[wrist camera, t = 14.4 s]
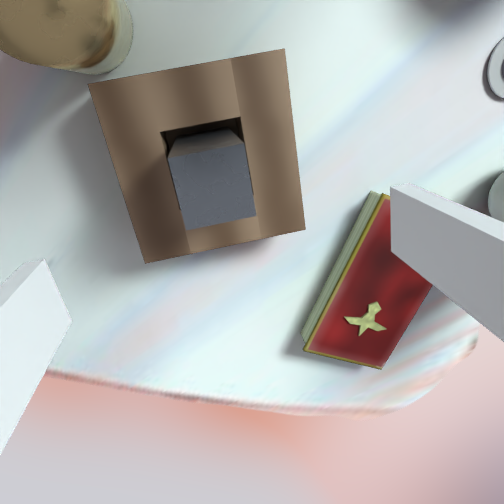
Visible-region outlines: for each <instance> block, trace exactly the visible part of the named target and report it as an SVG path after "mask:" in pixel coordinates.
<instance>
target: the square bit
mask: <svg viewBox="0 0 504 504" xmlns="http://www.w3.org/2000/svg"><path fill="white" fill-rule="evenodd" d="M168 162H169V166H170V170H171V174H172V178H173V182H174V185H175V189H176V193H177V197H178V201H179V205H180V209H181V212H182V216H183V220H184V224H185V228H186V231H187V230H191V229H196V228H201V227H206V226H211V225H215V224H220V223H225V222H230V221H235V220H239V219H244V218H249V217H254V216H257V215H256V209H255V204H254V198H253V192H252V186H251V180H250V174H249V169H248V163H247V157H246V151H245V145H244V143H243V142H242V141H241V140H240V139H239V138H238V137H237V136H236V135H235V134H234V133H233V132H232V131H231V130H230V129H229V128H228V127H227V126H225V127H220V128H215V129H209V130H204V131H199V132H194V133H188V134H183V135H178V136H177V137H176V139H175V142H174V144H173V146H172V149H171V151H170V153H169V156H168Z"/></svg>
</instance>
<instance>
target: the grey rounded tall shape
mask: <svg viewBox="0 0 504 504" xmlns="http://www.w3.org/2000/svg"><path fill="white" fill-rule="evenodd" d="M488 208H489V212H490V215H491V217H492V218H494V219H497V220H499V221H501V222H504V172H503V173H502V174H500V175H499V177H498V178H497V179H496V180H495V182H494V184H493V185H492V187H491V189H490V191H489V196H488Z"/></svg>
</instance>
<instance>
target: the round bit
mask: <svg viewBox="0 0 504 504" xmlns="http://www.w3.org/2000/svg"><path fill="white" fill-rule="evenodd" d="M132 39H133V24H132V18H131V15H130V11H129V9H128V6H127V4H126V2H125V0H0V50H2V51H3V52H5V53H7V54H8V55H10V56H12V57H14V58H16V59H19V60H21V61H24V62H27V63H30V64H36V65H41V66H47V67H52V68H58V69H63V70H69V71H74V72H79V73H85V74H102V73H106V72H109V71H111V70H113V69H114V68H116V67H117V66H119V65H120V64H121V63H122V62H123V60H124V59H125V58H126V56H127V55H128V52H129V50H130V47H131V44H132Z"/></svg>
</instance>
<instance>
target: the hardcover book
mask: <svg viewBox="0 0 504 504" xmlns="http://www.w3.org/2000/svg"><path fill="white" fill-rule="evenodd" d="M431 287H432V284H431V283H430V282H429V281H427V280H426V279H425V278H424V277H422V276H421V275H420V274H419V273H417V272H416V271H415V270H414V269H412V268H411V267H410V266H409V265H408V264H406V263H405V262H404V261H403V260H401V259H400V258H399V257H398V256H396V255H395V254H394V253H393V252H391V208H390V196H388V195H386V194H383V193H382V194H378V193H376V192H373V191H370V194H369V196H368V198H367V200H366V202H365V204H364V206H363V208H362V210H361V212H360V214H359V216H358V218H357V220H356V222H355V224H354V226H353V228H352V230H351V232H350V234H349V236H348V238H347V240H346V242H345V244H344V246H343V248H342V250H341V252H340V254H339V256H338V258H337V260H336V262H335V264H334V266H333V268H332V270H331V272H330V274H329V276H328V278H327V280H326V282H325V284H324V286H323V288H322V290H321V292H320V294H319V296H318V299H317V301H316V303H315V305H314V307H313V309H312V311H311V313H310V315H309V317H308V319H307V321H306V323H305V325H304V327H303V329H302V331H301V335H302V337H303V340H304V342H305V346H304V348H303V351H305V352H309V353H314V354H318V355H322V356H326V357H330V358H334V359H339V360H343V361H347V362H351V363H355V364H360V365H364V366H368V367H372V368H376V369H380V370H382V368H383V366H384V365H385V363H386V361H387V360H388V358H389V356H390V355H391V353H392V351H393V350H394V348H395V346H396V345H397V343H398V341H399V340H400V338H401V336H402V335H403V333H404V332H405V330H406V328H407V327H408V325H409V323H410V322H411V320H412V318H413V317H414V315H415V313H416V312H417V310H418V308H419V307H420V305H421V303H422V302H423V300H424V299H425V297H426V295H427V294H428V292H429V290H430V289H431Z"/></svg>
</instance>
